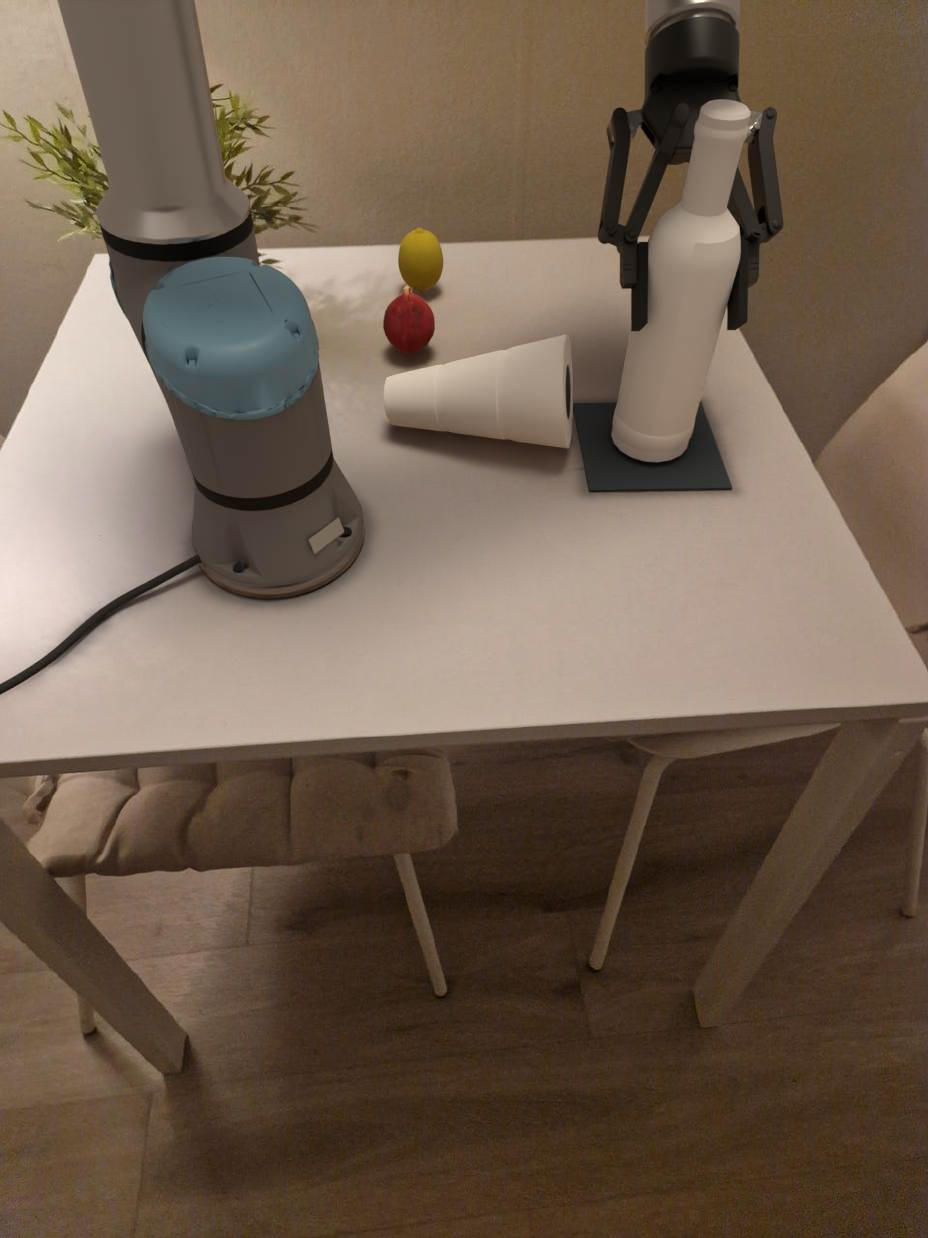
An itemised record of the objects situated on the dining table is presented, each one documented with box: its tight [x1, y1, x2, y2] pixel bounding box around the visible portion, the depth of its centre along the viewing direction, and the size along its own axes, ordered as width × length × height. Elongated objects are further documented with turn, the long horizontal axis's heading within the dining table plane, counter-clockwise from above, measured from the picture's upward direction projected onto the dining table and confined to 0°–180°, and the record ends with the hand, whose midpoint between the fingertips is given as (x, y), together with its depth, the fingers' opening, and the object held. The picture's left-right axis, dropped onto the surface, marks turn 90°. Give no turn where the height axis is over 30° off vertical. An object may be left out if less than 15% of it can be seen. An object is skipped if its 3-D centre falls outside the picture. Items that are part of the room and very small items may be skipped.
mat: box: [573, 400, 733, 493], centre depth 82 cm, size 14×14×1 cm
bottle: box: [611, 99, 751, 462], centre depth 69 cm, size 8×8×30 cm
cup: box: [383, 333, 574, 449], centre depth 79 cm, size 11×11×18 cm
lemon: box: [397, 227, 444, 294], centre depth 98 cm, size 6×6×8 cm
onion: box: [382, 284, 436, 355], centre depth 89 cm, size 6×6×8 cm
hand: (688, 326), depth 68 cm, fingers closed on bottle, 8 cm apart
